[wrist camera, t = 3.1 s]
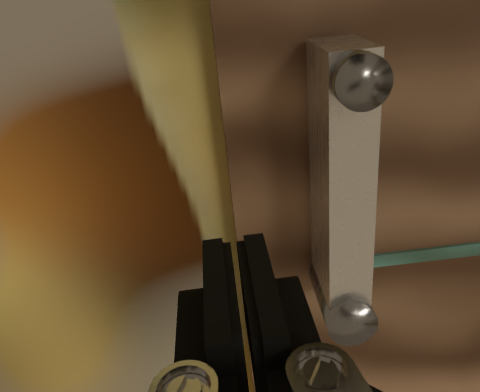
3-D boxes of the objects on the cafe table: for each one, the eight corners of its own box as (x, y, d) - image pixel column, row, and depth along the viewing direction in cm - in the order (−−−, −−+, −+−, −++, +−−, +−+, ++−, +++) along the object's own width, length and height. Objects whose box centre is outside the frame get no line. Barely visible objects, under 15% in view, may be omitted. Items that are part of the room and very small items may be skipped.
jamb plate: (207, -16, 20) (207, -14, 14) (643, -62, 20) (802, -77, 15) (257, 424, 33) (267, 511, 28) (519, 392, 33) (578, 471, 28)
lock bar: (301, 39, 19) (330, 57, 15) (356, 33, 19) (401, 50, 15) (309, 289, 25) (330, 356, 21) (350, 284, 25) (381, 350, 21)
